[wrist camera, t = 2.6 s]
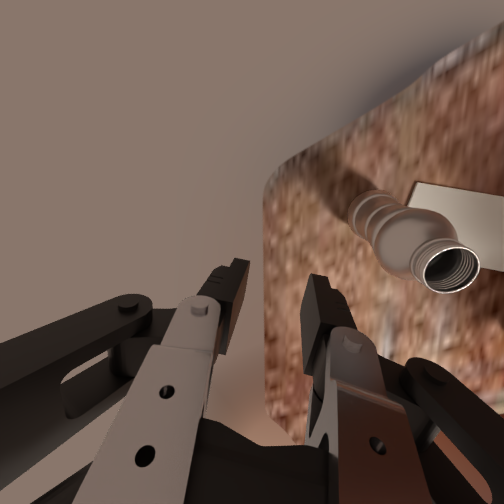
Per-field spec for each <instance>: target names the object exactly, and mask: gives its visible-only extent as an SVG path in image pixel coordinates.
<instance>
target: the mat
mask: <svg viewBox="0 0 504 504" xmlns="http://www.w3.org/2000/svg"><path fill="white" fill-rule="evenodd" d="M407 206H408V207H412V208H421V209H428V210H431V211H435V212H437V213H440V214H442V215H443V216H445V217H446V218H447V219H448V220H449V221H450V222H451V224H452V225H453V226H454V228H455V230H456V232H457V236H458V241H459V242H461V243H462V244H463V245H464V246H466V247H468V248H470V249H472V250H473V251H474V252H475V253H476V254H477V255H478V257H479V259H480V263H481V265H480V267H481V268H486V269H492V270H497V271H502V272H504V197H502V196H496V195H490V194H484V193H478V192H472V191H466V190H460V189H455V188H449V187H443V186H437V185H431V184H425V183H419V182H417V183H416V185H415V188H414V190H413V193H412V195H411V197H410V200H409V202H408V205H407Z"/></svg>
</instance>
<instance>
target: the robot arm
mask: <svg viewBox="0 0 504 504" xmlns="http://www.w3.org/2000/svg"><path fill="white" fill-rule="evenodd" d="M249 266H250V261H248V260H243V259H238V258H234V260H233V262H232V263H231V265H230V267H227V266H219V267H218V268H216V269H214V270H213V271H212V273H211V274H210V276H209V277H208V279H207V281H206V282H205V283H204V285H203V286H202V287H201V289H200V290H199V292H198V293H197V295H196V296H191V297H188V298H185V299H184V300H182V301H181V302H180V303H179V305H178V308H173V309H153V307H152V301H151V300H150V299H149V298H148V297H146V296H144V295H140V294H126V295H122V296H118V297H115V298H113V299H110V300H108V301H105V302H103V303H100V304H98V305H95V306H93V307H90V308H88V309H85V310H83V311H80V312H78V313H75V314H73V315H70V316H68V317H65V318H63V319H60V320H58V321H55V322H53V323H50V324H48V325H45V326H43V327H41V328H38V329H35V330H33V331H30V332H28V333H25V334H23V335H20V336H18V337H16V338H13V339H10V340H8V341H5V342H3V343H0V491H1V490H2V489H3V488H4V487H6V486H7V485H9V484H10V483H11V482H12V481H14V480H15V479H16V478H18V477H19V476H20V475H22V474H23V473H24V472H26V471H27V470H28V469H30V468H31V467H32V466H34V465H35V464H36V463H37V462H39V461H40V460H42V459H43V458H44V457H46V456H47V455H48V454H50V453H51V452H52V451H53V450H55V449H56V448H57V447H59V446H60V445H61V444H63V443H64V442H65V441H67V440H68V439H69V438H70V437H72V436H73V435H75V434H76V433H77V432H79V431H80V430H81V429H83V428H84V427H85V426H86V425H88V424H89V423H90V422H92V421H93V420H94V419H96V418H97V417H98V416H100V415H101V414H102V413H104V412H105V411H106V410H108V409H109V408H110V407H112V406H113V405H114V404H116V403H117V402H118V401H120V400H121V399H122V398H123V397H125V396H126V397H125V399H124V401H123V403H122V405H121V407H120V409H119V411H118V413H117V415H116V417H115V419H114V421H113V423H112V425H111V427H110V429H109V431H108V433H107V435H106V437H105V439H104V441H103V443H102V445H101V447H100V449H99V451H98V453H97V455H96V456H95V458H94V461H92V462H91V463H89V464H88V465H86V466H85V467H84V468H82V469H81V470H79V471H78V472H76V473H75V474H73V475H72V476H70V477H69V478H67V479H66V480H64V481H63V482H61V483H60V484H59V485H57V486H56V487H54V488H53V489H51V490H50V491H48V492H47V493H46V494H44V495H42V496H41V497H39V498H38V499H36V500H35V501H34V502H32V503H30V504H488V503H486V502H485V501H484V500H483V499H482V498H481V497H480V495H479V494H478V493H477V492H476V491H475V489H474V488H473V487H472V486H471V485H470V484H469V483H468V481H467V480H466V479H465V478H464V476H463V475H462V474H461V473H460V472H459V471H458V469H457V468H456V467H455V466H454V465H453V463H452V462H451V461H450V460H449V459H448V458H447V456H446V455H445V454H444V453H443V452H442V450H441V449H440V448H439V447H438V446H437V445H436V444H435V442H434V441H433V440H434V439H435V437H436V436H437V434H438V433H439V432H440V430H441V431H442V432H443V433H444V434H445V435H446V436H447V437H448V438H449V439H450V440H451V442H452V443H453V444H454V445H455V446H456V447H457V448H458V449H459V450H460V452H461V453H462V454H463V455H464V456H465V457H466V458H467V459H468V460H469V461H470V463H471V464H472V465H473V466H474V467H475V468H476V469H477V470H478V471H479V472H480V474H481V475H482V476H483V477H484V479H485V480H486V481H487V483H488V485H489V487H490V490H491V493H492V503H491V504H504V419H503V418H502V417H501V416H500V415H499V414H497V413H496V412H495V411H494V410H493V409H492V408H490V407H489V406H488V405H487V404H486V403H485V402H483V401H482V400H481V399H480V398H479V397H478V396H476V395H475V394H474V393H473V392H472V391H471V390H469V389H468V388H467V387H466V386H465V385H464V384H462V383H461V382H460V381H459V380H458V379H457V378H455V377H454V376H453V375H452V374H451V373H450V372H448V371H447V370H446V369H444V368H443V367H441V366H439V365H438V364H436V363H434V362H432V361H429V360H426V359H423V358H417V357H414V358H410V359H408V361H407V362H406V364H405V366H402V365H400V364H397V363H395V362H393V361H391V360H388V359H386V358H384V357H382V356H380V355H378V354H377V350H376V347H375V345H374V343H373V342H372V341H371V340H370V339H369V338H368V337H367V336H366V335H364V334H363V333H361V332H360V331H358V330H357V327H356V325H355V322H354V320H353V317H352V314H351V312H350V309H349V307H348V306H347V305H348V304H347V301H346V299H345V297H344V296H343V295H342V294H341V293H340V292H339V291H338V290H337V289H332V288H331V286H330V283H329V280H328V277H326V276H321V275H317V274H312V273H311V274H310V276H309V279H308V282H307V286H306V290H305V293H304V297H303V300H302V304H301V310H300V321H301V338H302V355H303V372H304V374H306V375H310V376H313V384H312V387H311V390H310V396H309V405H308V415H307V425H306V435H305V444H304V445H293V446H260V445H258V444H256V443H254V442H252V441H251V440H249V439H247V438H246V437H244V436H242V435H240V434H239V433H237V432H235V431H233V430H232V429H230V428H228V427H227V426H225V425H223V424H222V423H220V422H217V421H213V420H209V419H205V415H206V410H207V404H208V398H209V392H210V385H211V380H212V374H213V367H214V364H215V361H216V359H217V356H218V354H223V355H226V352H227V349H228V346H229V343H230V340H231V337H232V334H233V331H234V328H235V324H236V321H237V318H238V315H239V312H240V309H241V306H242V303H243V300H244V295H245V291H246V285H247V279H248V273H249ZM106 350H107V351H108V357H107V358H105V359H103V360H101V361H100V362H98V363H96V364H94V365H93V366H91V367H89V368H88V369H86V370H84V371H82V372H81V373H79V374H77V375H76V376H74V377H72V378H71V379H69V380H67V381H65V382H64V383H62V384H61V381H62V380H63V378H64V377H65V376H66V375H67V374H68V373H69V372H70V371H71V370H73V369H74V368H76V367H78V366H80V365H82V364H83V363H85V362H87V361H89V360H90V359H92V358H94V357H96V356H98V355H99V354H101V353H103V352H105V351H106Z"/></svg>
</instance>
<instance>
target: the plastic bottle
mask: <svg viewBox="0 0 504 504" xmlns="http://www.w3.org/2000/svg"><path fill="white" fill-rule="evenodd" d="M347 218H348V224H349V227H350V228H351V230H352V231H353V232H354V233H355V234H356V235H358V236H359V237H361V238H363V239H365V240H367V241H368V242H369V243H370V245H371V246H372V248H373V251H374V253H375V256H376V258H377V260H378V262H379V263H380V265H381V266H382V268H383V269H384V270H385V271H386V272H388V273H389V274H391V275H393V276H395V277H398V278H401V279H404V280H412V281H416V280H417V281H418V282H420V283H422V284H424V285H425V286H426V287H427V288H428V289H430V290H432V291H434V292H437V293H442V294H448V293H454V292H457V291H460V290H462V289H464V288H466V287H467V286H469V285H470V284H471V283H472V282H473V281H474V280H475V279H476V277H477V275H478V274H479V271H480V265H481V263H480V259H479V257H478V255H477V254H476V253H475V252H474V251H473V250H472V249H470V248H468V247H466V246H464V245H463V244H462V243H461V242H459V241H458V236H457V232H456V230H455V228H454V226H453V225H452V224H451V222H450V221H449V220H448V219H447V218H446V217H445V216H443V215H442V214H440V213H437V212H435V211H431V210H428V209H421V208H412V207H408V206H405V205H402V204H401V203H399V201H398V200H397V199H396V198H395V197H394V196H393V195H392V194H390V193H389V192H386V191H384V190H370V191H366V192H364V193H361V194H360V195H358V196H357V197H356V198H355V199H354V200H353V201H352V203H351V204H350V206H349V209H348V214H347Z"/></svg>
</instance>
